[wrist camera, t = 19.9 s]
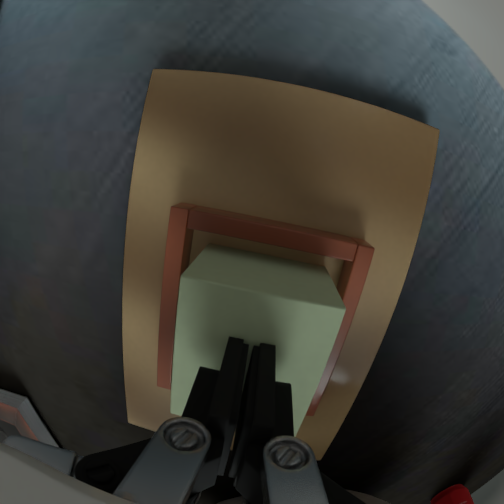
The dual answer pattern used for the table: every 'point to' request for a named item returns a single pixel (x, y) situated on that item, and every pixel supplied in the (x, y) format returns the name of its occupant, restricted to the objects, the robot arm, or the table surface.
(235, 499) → the clay pot
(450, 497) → the beverage can
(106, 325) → the table surface
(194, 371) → the pale green square block
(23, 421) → the picture frame
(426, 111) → the table surface
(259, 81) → the back plate
